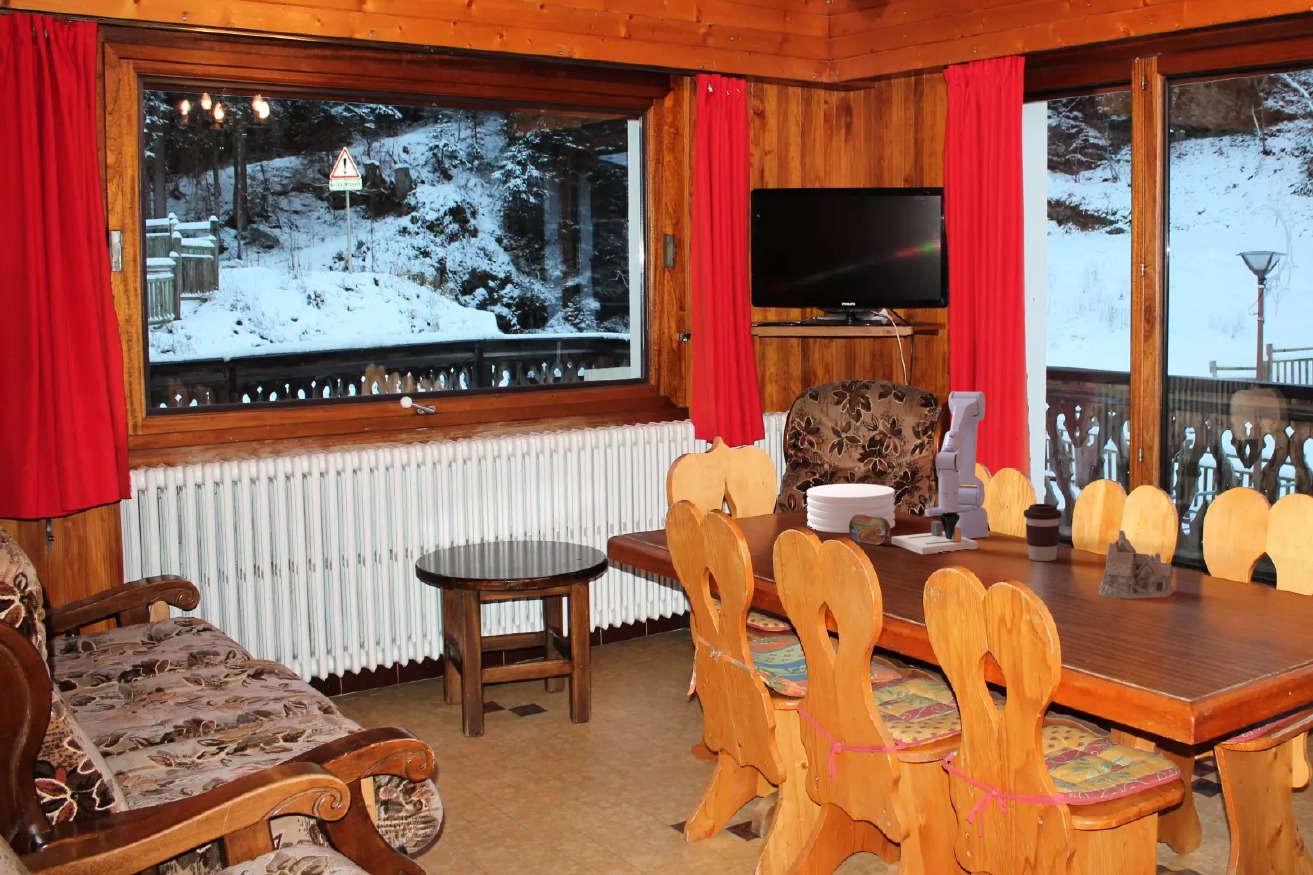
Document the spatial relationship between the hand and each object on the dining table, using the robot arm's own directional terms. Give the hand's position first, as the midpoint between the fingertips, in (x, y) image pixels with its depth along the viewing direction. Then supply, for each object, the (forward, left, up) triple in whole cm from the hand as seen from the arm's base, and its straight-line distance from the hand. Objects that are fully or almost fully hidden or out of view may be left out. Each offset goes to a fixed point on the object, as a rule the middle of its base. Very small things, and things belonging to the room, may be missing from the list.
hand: (949, 538), depth 370 cm
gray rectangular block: (-2, -10, -1) cm, 10 cm away
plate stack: (+8, -47, -3) cm, 48 cm away
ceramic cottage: (-12, +66, -3) cm, 67 cm away
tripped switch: (-2, 0, -1) cm, 2 cm away
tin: (+16, -18, -3) cm, 24 cm away
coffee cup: (-15, +24, -3) cm, 28 cm away
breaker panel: (+2, -5, -3) cm, 6 cm away
